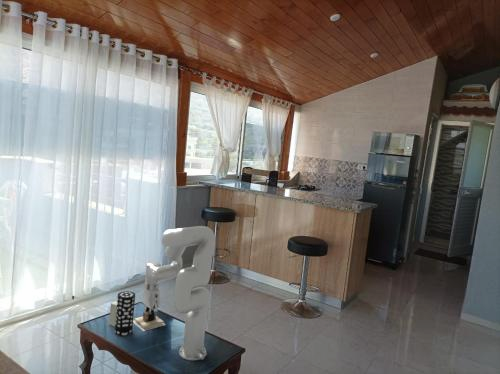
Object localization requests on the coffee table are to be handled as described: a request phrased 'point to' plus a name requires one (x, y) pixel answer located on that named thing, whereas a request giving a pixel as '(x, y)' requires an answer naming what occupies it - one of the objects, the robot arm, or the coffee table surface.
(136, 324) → the mat
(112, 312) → the skincare box
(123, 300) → the spotted tube
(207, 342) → the coffee table surface
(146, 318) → the lid
